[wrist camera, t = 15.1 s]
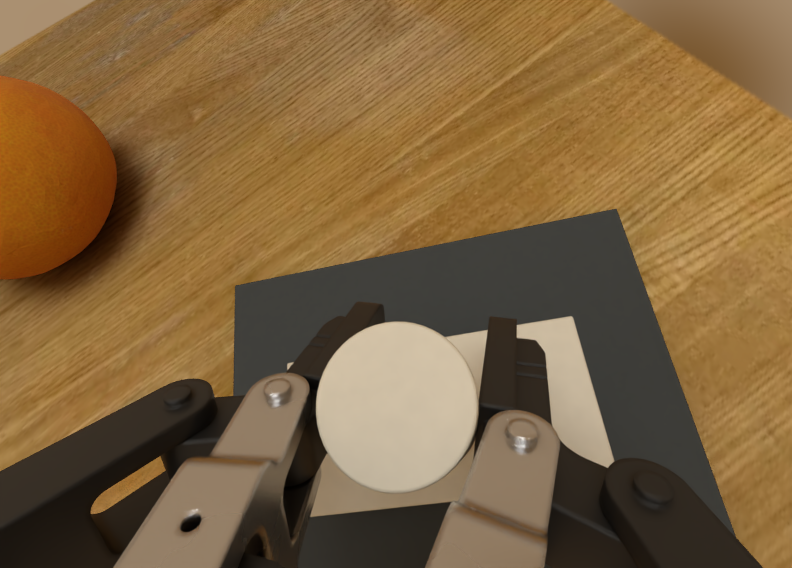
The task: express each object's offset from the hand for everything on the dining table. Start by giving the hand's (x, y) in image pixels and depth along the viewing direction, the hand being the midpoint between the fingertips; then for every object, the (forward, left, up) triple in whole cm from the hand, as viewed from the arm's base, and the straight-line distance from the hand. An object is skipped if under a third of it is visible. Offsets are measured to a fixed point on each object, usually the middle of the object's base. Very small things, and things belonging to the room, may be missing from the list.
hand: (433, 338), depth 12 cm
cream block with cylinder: (+1, +2, -5) cm, 6 cm away
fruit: (+21, -13, -6) cm, 25 cm away
